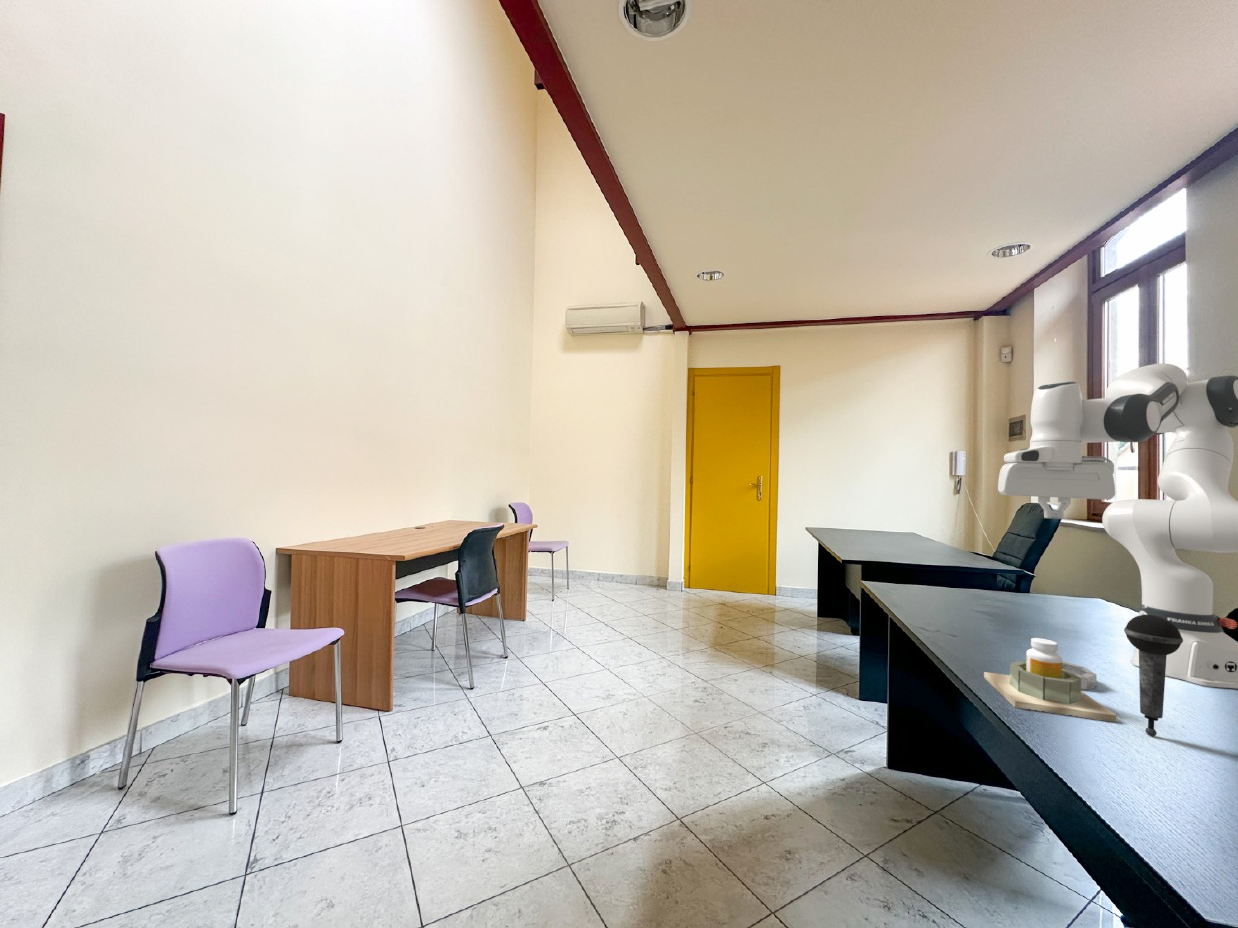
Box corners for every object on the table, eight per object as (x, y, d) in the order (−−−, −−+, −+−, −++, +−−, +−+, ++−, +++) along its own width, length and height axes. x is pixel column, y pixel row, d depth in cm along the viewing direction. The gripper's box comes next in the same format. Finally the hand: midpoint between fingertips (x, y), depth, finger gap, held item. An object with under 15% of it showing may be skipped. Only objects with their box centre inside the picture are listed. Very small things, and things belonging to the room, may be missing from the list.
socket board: (1069, 688, 105) (1070, 663, 105) (1116, 722, 90) (1116, 692, 90) (984, 677, 109) (984, 652, 109) (1015, 707, 95) (1015, 679, 95)
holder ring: (1076, 673, 113) (1076, 662, 113) (1105, 692, 103) (1105, 679, 103) (1020, 666, 116) (1020, 655, 117) (1043, 684, 107) (1043, 672, 107)
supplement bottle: (1068, 698, 97) (1069, 646, 97) (1036, 695, 98) (1037, 644, 98) (1049, 687, 102) (1051, 637, 102) (1019, 684, 103) (1020, 635, 103)
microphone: (1188, 751, 81) (1191, 623, 81) (1128, 737, 85) (1131, 615, 85) (1172, 733, 87) (1174, 614, 87) (1116, 721, 90) (1119, 607, 91)
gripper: (1104, 457, 113) (1103, 520, 113) (995, 454, 119) (994, 514, 119) (1123, 456, 107) (1121, 522, 107) (1007, 453, 113) (1005, 516, 113)
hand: (1053, 518), depth 113 cm, fingers closed
